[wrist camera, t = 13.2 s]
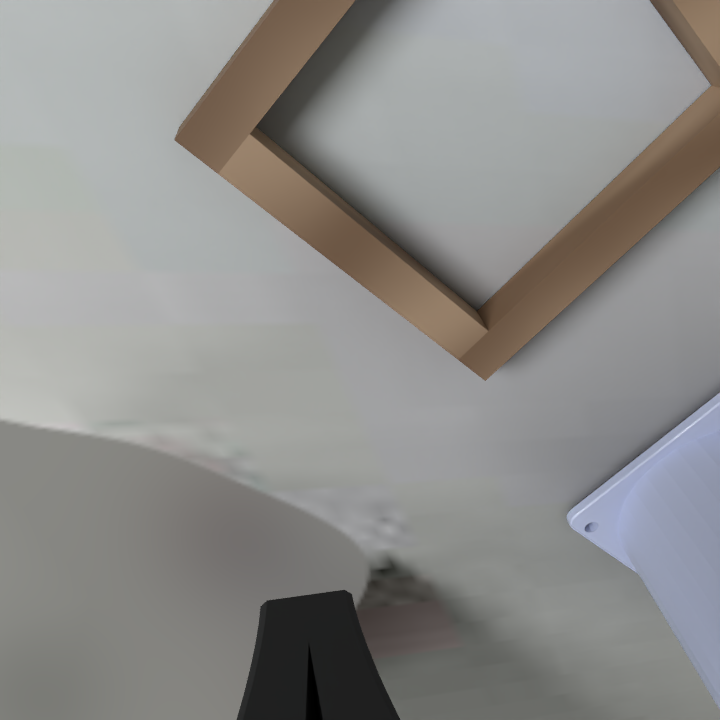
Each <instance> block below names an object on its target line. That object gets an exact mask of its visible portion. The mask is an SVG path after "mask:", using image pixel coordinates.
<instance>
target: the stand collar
mask: <svg viewBox="0 0 720 720" xmlns="http://www.w3.org/2000/svg"><path fill="white" fill-rule="evenodd" d="M354 1H355V0H274V1H273V2H272V4H271V5H270V6H269V8H268V9H267V10H266V12H265V13H264V14H263V16H262V17H261V18H260V20H259V21H258V22H257V24H256V25H255V26H254V28H253V29H252V30H251V32H250V33H249V34H248V36H247V37H246V38H245V40H244V41H243V43H242V44H241V45H240V47H239V48H238V49H237V51H236V52H235V53H234V55H233V56H232V57H231V59H230V60H229V61H228V63H227V64H226V65H225V67H224V68H223V69H222V71H221V72H220V73H219V75H218V76H217V77H216V79H215V80H214V81H213V83H212V84H211V85H210V87H209V88H208V89H207V91H206V92H205V93H204V95H203V96H202V97H201V99H200V100H199V101H198V103H197V104H196V106H195V107H194V108H193V110H192V111H191V112H190V114H189V115H188V116H187V118H186V119H185V120H184V122H183V123H182V124H181V126H180V127H179V129H178V132H177V135H176V137H175V141H176V142H178V143H179V144H180V145H182V146H183V147H184V148H185V149H187V150H188V151H189V152H191V153H192V154H193V155H194V156H196V157H197V158H198V159H200V160H201V161H202V162H203V163H205V164H206V165H207V166H209V167H210V168H211V169H213V170H214V171H215V172H216V173H218V174H219V175H220V176H222V177H223V178H224V179H225V180H227V181H228V182H229V183H231V184H232V185H233V186H234V187H236V188H237V189H238V190H240V191H241V192H242V193H243V194H245V195H246V196H247V197H249V198H250V199H251V200H253V201H254V202H255V203H256V204H258V205H259V206H260V207H262V208H263V209H264V210H265V211H267V212H268V213H269V214H271V215H272V216H273V217H274V218H276V219H277V220H278V221H280V222H281V223H282V224H284V225H285V226H286V227H287V228H289V229H290V230H291V231H293V232H294V233H295V234H296V235H298V236H299V237H300V238H302V239H303V240H304V241H305V242H307V243H308V244H309V245H311V246H312V247H313V248H315V249H316V250H317V251H318V252H320V253H321V254H322V255H324V256H325V257H326V258H327V259H329V260H330V261H331V262H333V263H334V264H335V265H336V266H338V267H339V268H340V269H342V270H343V271H344V272H345V273H347V274H348V275H349V276H351V277H352V278H353V279H355V280H356V281H357V282H358V283H360V284H361V285H362V286H364V287H365V288H366V289H367V290H369V291H370V292H371V293H373V294H374V295H375V296H376V297H378V298H379V299H380V300H382V301H383V302H384V303H386V304H387V305H388V306H389V307H391V308H392V309H393V310H395V311H396V312H397V313H398V314H400V315H401V316H402V317H404V318H405V319H406V320H407V321H409V322H410V323H411V324H413V325H414V326H415V327H417V328H418V329H419V330H420V331H422V332H423V333H424V334H426V335H427V336H428V337H429V338H431V339H432V340H433V341H435V342H436V343H437V344H438V345H440V346H441V347H442V348H444V349H445V350H446V351H447V352H449V353H450V354H451V355H453V356H454V357H455V358H457V359H458V360H459V361H460V362H462V363H463V364H464V365H466V366H467V367H468V368H469V369H471V370H472V371H473V372H475V373H476V374H477V375H478V376H480V377H481V378H482V379H484V380H485V381H486V380H487V379H488V378H489V377H490V376H491V375H492V374H493V373H494V372H496V371H497V370H498V369H499V368H500V367H501V366H502V365H503V364H504V363H505V362H506V361H508V360H509V359H510V358H511V357H512V356H513V355H514V354H515V353H516V352H517V351H519V350H520V349H521V348H522V347H523V346H524V345H525V344H526V343H527V342H528V341H529V340H531V339H532V338H533V337H534V336H535V335H536V334H537V333H538V332H539V331H540V330H542V329H543V328H544V327H545V326H546V325H547V324H548V323H549V322H550V321H551V320H552V319H554V318H555V317H556V316H557V315H558V314H559V313H560V312H561V311H562V310H563V309H565V308H566V307H567V306H568V305H569V304H570V303H571V302H572V301H573V300H574V299H575V298H577V297H578V296H579V295H580V294H581V293H582V292H583V291H584V290H585V289H586V288H588V287H589V286H590V285H591V284H592V283H593V282H594V281H595V280H596V279H597V278H598V277H600V276H601V275H602V274H603V273H604V272H605V271H606V270H607V269H608V268H609V267H611V266H612V265H613V264H614V263H615V262H616V261H617V260H618V259H619V258H620V257H621V256H623V255H624V254H625V253H626V252H627V251H628V250H629V249H630V248H631V247H632V246H634V245H635V244H636V243H637V242H638V241H639V240H640V239H641V238H642V237H643V236H644V235H646V234H647V233H648V232H649V231H650V230H651V229H652V228H653V227H654V226H655V225H657V224H658V223H659V222H660V221H661V220H662V219H663V218H664V217H665V216H666V215H667V214H669V213H670V212H671V211H672V210H673V209H674V208H675V207H676V206H677V205H678V204H680V203H681V202H682V201H683V200H684V199H685V198H686V197H687V196H688V195H689V194H691V193H692V192H693V191H694V190H695V189H696V188H697V187H698V186H699V185H700V184H701V183H703V182H704V181H705V180H706V179H707V178H708V177H709V176H710V175H711V174H712V173H714V172H715V171H716V170H717V169H718V168H719V167H720V0H650V1H651V3H652V4H653V5H654V7H655V8H656V10H657V11H658V12H659V14H660V15H661V16H662V18H663V19H664V21H665V22H666V23H667V25H668V26H669V27H670V29H671V30H672V32H673V33H674V34H675V36H676V37H677V38H678V40H679V41H680V42H681V44H682V45H683V47H684V48H685V49H686V51H687V52H688V53H689V55H690V56H691V58H692V59H693V60H694V62H695V63H696V64H697V66H698V67H699V69H700V70H701V71H702V73H703V74H704V75H705V77H706V78H707V80H708V81H709V82H710V84H711V86H710V87H709V88H708V89H707V90H706V91H705V92H704V93H703V94H702V95H701V96H700V97H699V98H698V99H697V100H696V101H695V102H694V103H693V104H692V105H691V106H690V107H689V108H688V109H687V110H685V111H684V112H683V113H682V114H681V115H680V116H679V117H678V118H677V119H676V120H675V121H674V122H673V123H672V124H671V125H670V126H669V127H668V128H667V129H666V130H665V131H664V132H663V133H662V134H661V135H660V136H658V137H657V138H656V139H655V140H654V141H653V142H652V143H651V144H650V145H649V146H648V147H647V148H646V149H645V150H644V151H643V152H642V153H641V154H640V155H639V156H638V157H637V158H636V159H635V160H634V161H633V162H631V163H630V164H629V165H628V166H627V167H626V168H625V169H624V170H623V171H622V172H621V173H620V174H619V175H618V176H617V177H616V178H615V179H614V180H613V181H612V182H611V183H610V184H609V185H608V186H607V187H606V188H604V189H603V190H602V191H601V192H600V193H599V194H598V195H597V196H596V197H595V198H594V199H593V200H592V201H591V202H590V203H589V204H588V205H587V206H586V207H585V208H584V209H583V210H582V211H581V212H580V213H579V214H577V215H576V216H575V217H574V218H573V219H572V220H571V221H570V222H569V223H568V224H567V225H566V226H565V227H564V228H563V229H562V230H561V231H560V232H559V233H558V234H557V235H556V236H555V237H554V238H553V239H551V240H550V241H549V242H548V243H547V244H546V245H545V246H544V247H543V248H542V249H541V250H540V251H539V252H538V253H537V254H536V255H535V256H534V257H533V258H532V259H531V260H530V261H529V262H528V263H527V264H526V265H524V266H523V267H522V268H521V269H520V270H519V271H518V272H517V273H516V274H515V275H514V276H513V277H512V278H511V279H510V280H509V281H508V282H507V283H506V284H505V285H504V286H503V287H502V288H501V289H500V290H499V291H497V292H496V293H495V294H494V295H493V296H492V297H491V298H490V299H489V300H488V301H487V302H486V303H485V304H484V305H483V306H482V307H481V308H480V309H479V310H478V311H476V310H475V309H473V308H472V307H471V306H470V305H469V304H467V303H466V302H465V301H464V300H463V299H461V298H460V297H459V296H458V295H457V294H455V293H454V292H453V291H452V290H451V289H449V288H448V287H447V286H446V285H445V284H443V283H442V282H441V281H440V280H439V279H437V278H436V277H435V276H434V275H433V274H432V273H430V272H429V271H428V270H427V269H426V268H424V267H423V266H422V265H421V264H420V263H418V262H417V261H416V260H415V259H414V258H412V257H411V256H410V255H409V254H408V253H406V252H405V251H404V250H403V249H402V248H400V247H399V246H398V245H397V244H396V243H394V242H393V241H392V240H391V239H390V238H388V237H387V236H386V235H385V234H384V233H382V232H381V231H380V230H379V229H378V228H376V227H375V226H374V225H373V224H372V223H371V222H369V221H368V220H367V219H366V218H365V217H363V216H362V215H361V214H360V213H359V212H357V211H356V210H355V209H354V208H353V207H351V206H350V205H349V204H348V203H347V202H345V201H344V200H343V199H342V198H341V197H339V196H338V195H337V194H336V193H335V192H333V191H332V190H331V189H330V188H329V187H327V186H326V185H325V184H324V183H323V182H321V181H320V180H319V179H318V178H317V177H315V176H314V175H313V174H312V173H311V172H310V171H308V170H307V169H306V168H305V167H304V166H302V165H301V164H300V163H299V162H298V161H296V160H295V159H294V158H293V157H292V156H290V155H289V154H288V153H287V152H286V151H284V150H283V149H282V148H281V147H280V146H278V145H277V144H276V143H275V142H274V141H272V140H271V139H270V138H269V137H268V136H266V135H265V134H264V133H263V132H262V131H260V130H259V129H258V128H257V127H256V125H257V124H258V123H259V122H260V120H261V119H262V118H263V116H264V115H265V114H266V113H267V111H268V110H269V109H270V108H271V106H272V105H273V104H274V103H275V101H276V100H277V99H278V98H279V96H280V95H281V94H282V92H283V91H284V90H285V89H286V87H287V86H288V85H289V84H290V82H291V81H292V80H293V79H294V77H295V76H296V75H297V74H298V72H299V71H300V70H301V68H302V67H303V66H304V65H305V63H306V62H307V61H308V60H309V58H310V57H311V56H312V55H313V53H314V52H315V51H316V49H317V48H318V47H319V46H320V44H321V43H322V42H323V41H324V39H325V38H326V37H327V36H328V34H329V33H330V32H331V31H332V29H333V28H334V27H335V25H336V24H337V23H338V22H339V20H340V19H341V18H342V17H343V15H344V14H345V13H346V12H347V10H348V9H349V8H350V7H351V5H352V4H353V3H354Z"/></svg>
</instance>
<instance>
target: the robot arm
mask: <svg viewBox="0 0 720 720" xmlns="http://www.w3.org/2000/svg"><path fill="white" fill-rule="evenodd" d="M567 521H568V523H569V525H570V527H571V528H572V529H573V530H575V531H576V532H578V533H579V534H581V535H582V536H584V537H585V538H586V539H588V540H589V541H591V542H592V543H594V544H595V545H597V546H598V547H600V548H601V549H602V550H604V551H605V552H607V553H608V554H610V555H611V556H613V557H614V558H616V559H617V560H618V561H620V562H621V563H623V564H624V565H626V566H627V567H629V568H630V569H632V570H633V571H634V572H636V573H637V574H639V576H640V577H641V579H642V581H643V582H644V584H645V586H646V587H647V589H648V591H649V592H650V594H651V596H652V597H653V599H654V601H655V602H656V604H657V606H658V607H659V609H660V611H661V612H662V614H663V616H664V617H665V619H666V621H667V622H668V624H669V626H670V628H671V629H672V631H673V633H674V634H675V636H676V638H677V639H678V641H679V643H680V644H681V646H682V648H683V649H684V651H685V653H686V654H687V656H688V658H689V659H690V661H691V663H692V664H693V666H694V668H695V669H696V671H697V673H698V674H699V676H700V678H701V679H702V681H703V683H704V684H705V686H706V688H707V689H708V691H709V693H710V694H711V696H712V698H713V699H714V701H715V703H716V704H717V706H718V708H719V710H720V393H718V394H717V395H716V396H715V397H713V398H712V399H711V400H710V401H708V402H707V403H706V404H704V405H703V406H702V407H701V408H699V409H698V410H697V411H696V412H694V413H693V414H692V415H690V416H689V417H688V418H687V419H685V420H684V421H683V422H682V423H680V424H679V425H678V426H676V427H675V428H674V429H673V430H671V431H670V432H669V433H668V434H666V435H665V436H664V437H662V438H661V439H660V440H659V441H657V442H656V443H655V444H654V445H652V446H651V447H650V448H648V449H647V450H646V451H645V452H643V453H642V454H641V455H640V456H638V457H637V458H636V459H634V460H633V461H632V462H631V463H629V464H628V465H627V466H626V467H624V468H623V469H622V470H621V471H619V472H618V473H617V474H615V475H614V476H613V477H612V478H610V479H609V480H608V481H607V482H605V483H604V484H603V485H601V486H600V487H599V488H598V489H596V490H595V491H594V492H593V493H591V494H590V495H589V496H587V497H586V498H585V499H584V500H582V501H581V502H580V503H579V504H577V505H576V506H575V507H573V508H572V509H571V510H570V511H569V512H568V514H567ZM237 720H400V718H399V716H398V714H397V712H396V710H395V708H394V706H393V704H392V702H391V700H390V698H389V696H388V694H387V691H386V689H385V687H384V685H383V683H382V680H381V678H380V676H379V674H378V671H377V669H376V666H375V664H374V661H373V659H372V656H371V654H370V651H369V649H368V646H367V644H366V641H365V638H364V635H363V633H362V630H361V627H360V624H359V620H358V617H357V614H356V610H355V606H354V602H353V598H352V594H351V593H349V592H347V591H345V590H340V591H333V592H326V593H319V594H312V595H304V596H297V597H291V598H283V599H276V600H269V601H267V602H265V603H264V604H263V605H262V606H261V609H260V618H259V626H258V632H257V639H256V645H255V649H254V654H253V659H252V664H251V668H250V672H249V676H248V680H247V684H246V688H245V692H244V696H243V700H242V703H241V706H240V710H239V713H238V717H237Z"/></svg>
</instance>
